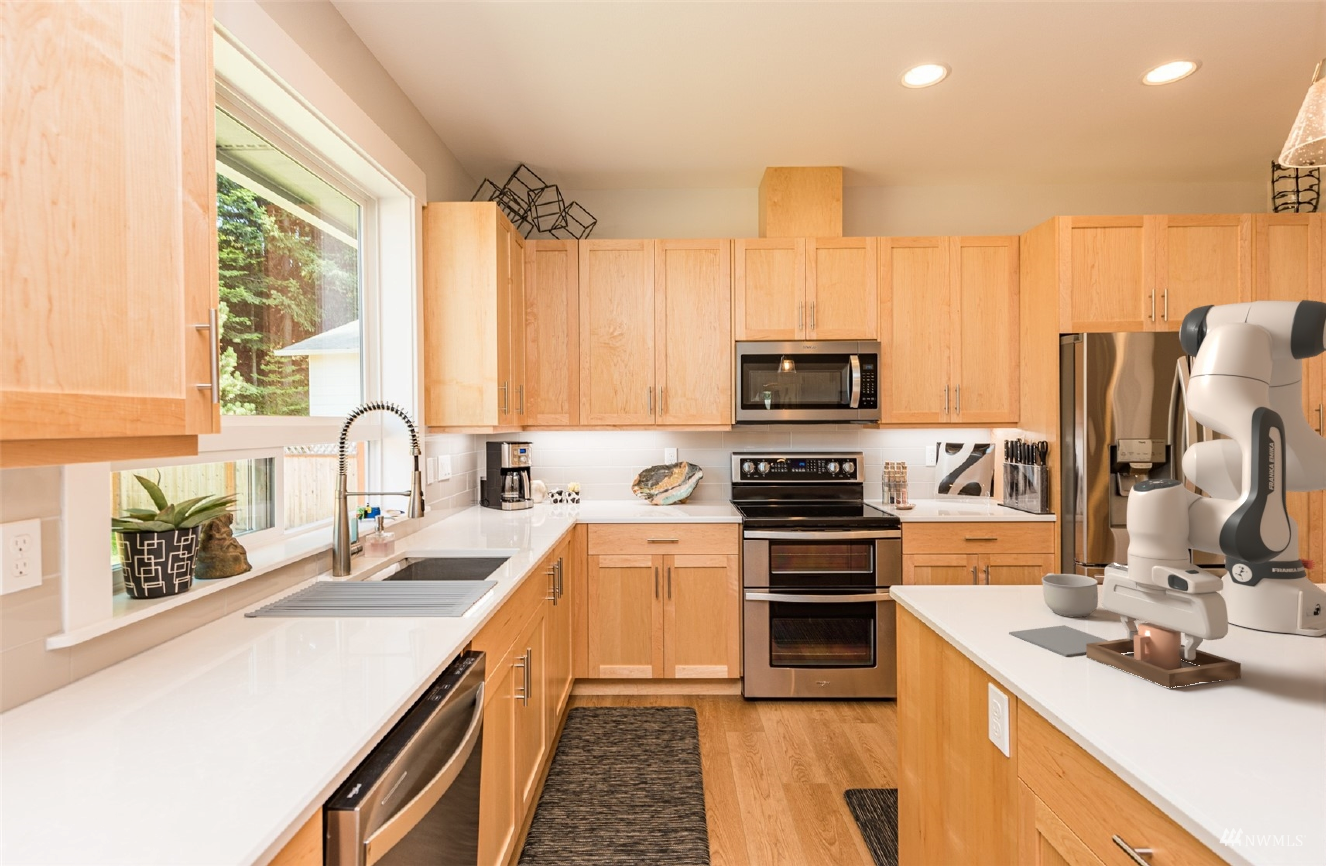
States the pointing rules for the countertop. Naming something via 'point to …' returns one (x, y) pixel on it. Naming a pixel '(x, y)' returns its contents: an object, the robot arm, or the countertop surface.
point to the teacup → (1070, 594)
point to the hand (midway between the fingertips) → (1160, 649)
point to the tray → (1206, 672)
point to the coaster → (1059, 639)
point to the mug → (1158, 646)
